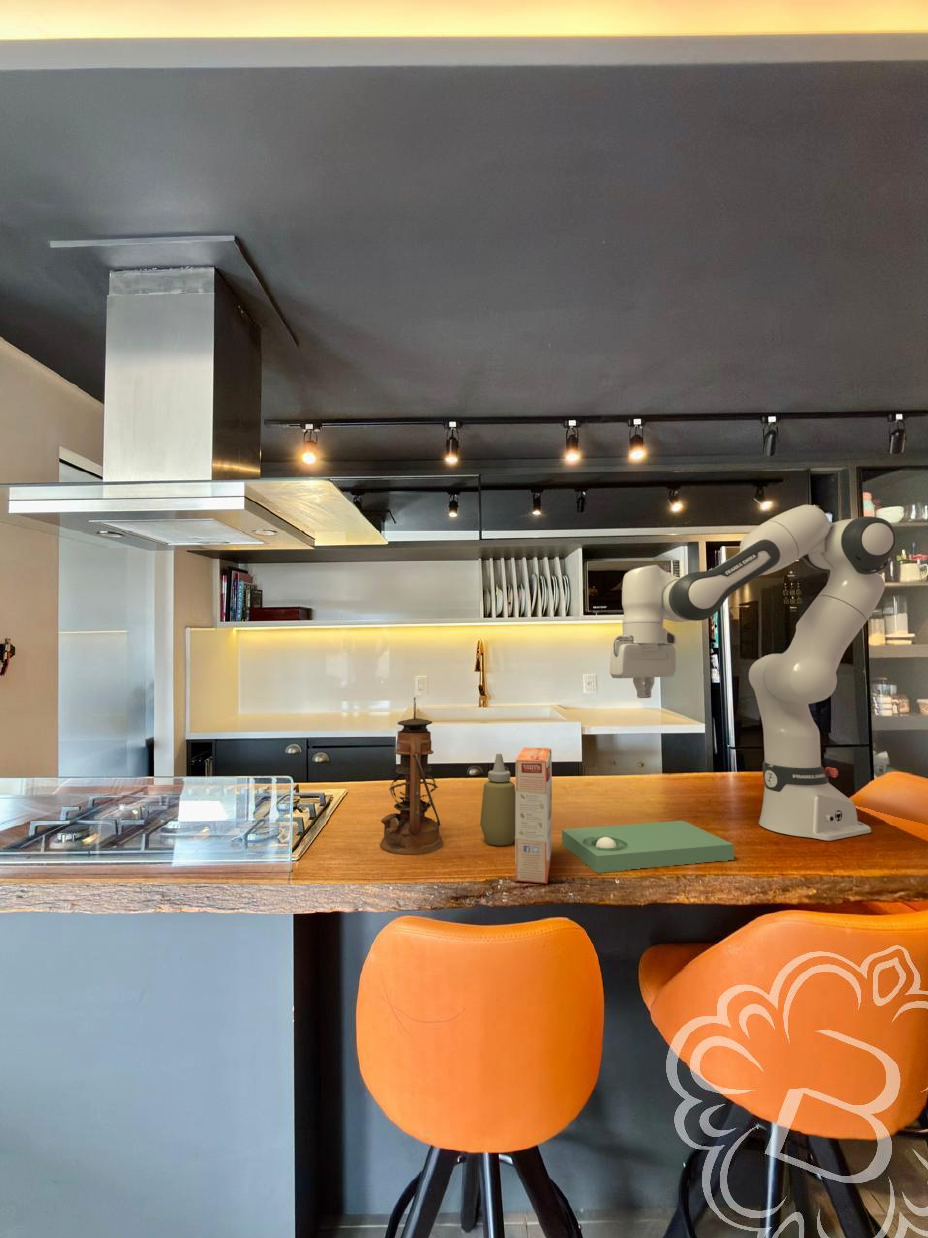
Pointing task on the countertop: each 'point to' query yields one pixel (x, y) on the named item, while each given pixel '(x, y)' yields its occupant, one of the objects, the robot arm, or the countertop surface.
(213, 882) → the countertop surface
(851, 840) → the countertop surface
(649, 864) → the putting board
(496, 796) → the squeeze bottle
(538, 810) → the cracker box
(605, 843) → the ball
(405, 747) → the lantern
